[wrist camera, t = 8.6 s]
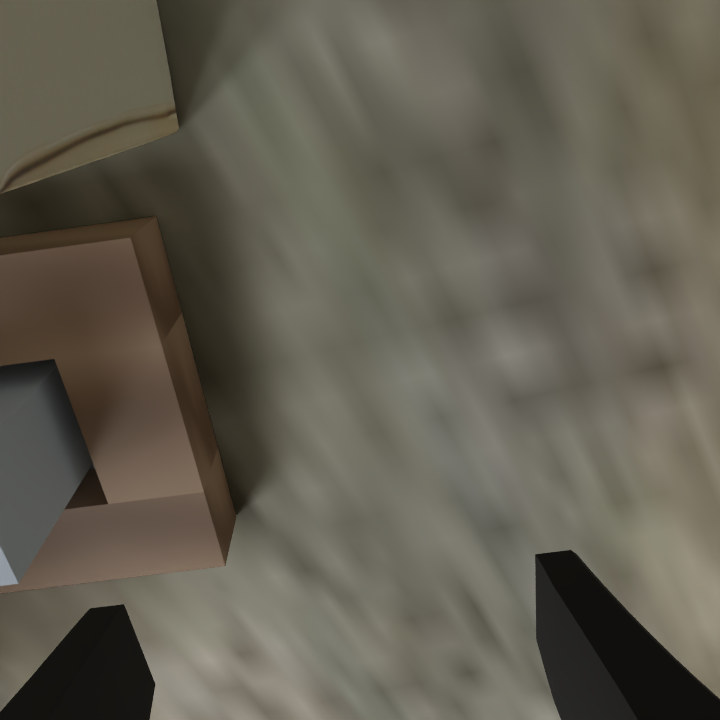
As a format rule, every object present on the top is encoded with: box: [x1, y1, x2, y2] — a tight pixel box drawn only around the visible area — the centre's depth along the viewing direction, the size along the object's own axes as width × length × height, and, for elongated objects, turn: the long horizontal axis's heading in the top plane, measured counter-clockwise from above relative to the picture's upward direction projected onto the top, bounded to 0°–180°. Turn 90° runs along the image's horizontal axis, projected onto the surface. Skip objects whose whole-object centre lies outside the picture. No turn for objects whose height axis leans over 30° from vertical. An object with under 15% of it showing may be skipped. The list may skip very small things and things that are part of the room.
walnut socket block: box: [0, 216, 236, 593], centre depth 20 cm, size 11×11×2 cm
